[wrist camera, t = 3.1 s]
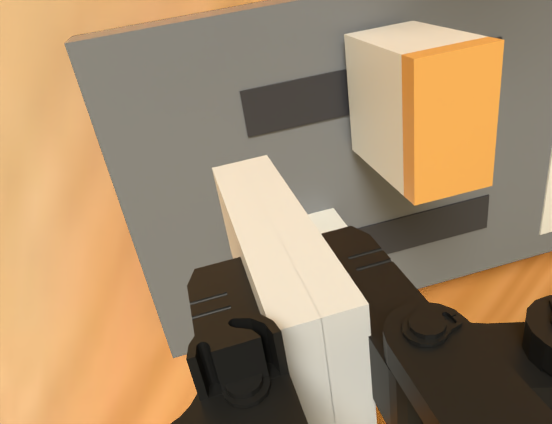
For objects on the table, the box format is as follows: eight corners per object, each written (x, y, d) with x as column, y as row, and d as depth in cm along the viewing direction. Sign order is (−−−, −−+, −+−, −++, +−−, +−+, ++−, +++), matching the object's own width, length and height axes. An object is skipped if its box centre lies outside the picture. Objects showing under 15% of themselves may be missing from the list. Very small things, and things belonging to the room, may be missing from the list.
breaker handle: (412, 20, 20) (504, 40, 15) (413, 135, 22) (492, 185, 17) (343, 34, 19) (414, 59, 14) (352, 149, 22) (414, 205, 17)
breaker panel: (593, -60, 23) (674, -64, 19) (549, 228, 30) (600, 263, 27) (71, 36, 19) (55, 52, 16) (171, 332, 27) (175, 387, 24)
